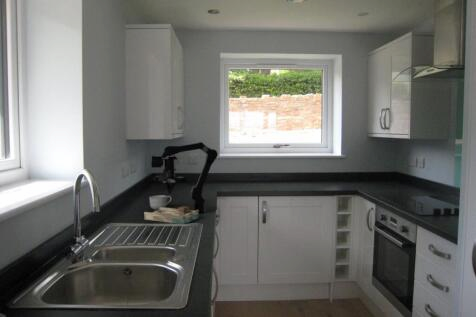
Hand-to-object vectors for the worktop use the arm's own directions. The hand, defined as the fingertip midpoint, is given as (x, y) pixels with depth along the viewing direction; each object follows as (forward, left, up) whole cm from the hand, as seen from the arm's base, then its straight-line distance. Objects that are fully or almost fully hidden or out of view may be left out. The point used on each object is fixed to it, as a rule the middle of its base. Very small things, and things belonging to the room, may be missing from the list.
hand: (169, 193), depth 220 cm
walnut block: (+7, +14, -10) cm, 18 cm away
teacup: (-10, -14, -12) cm, 21 cm away
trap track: (+9, +7, -12) cm, 17 cm away
